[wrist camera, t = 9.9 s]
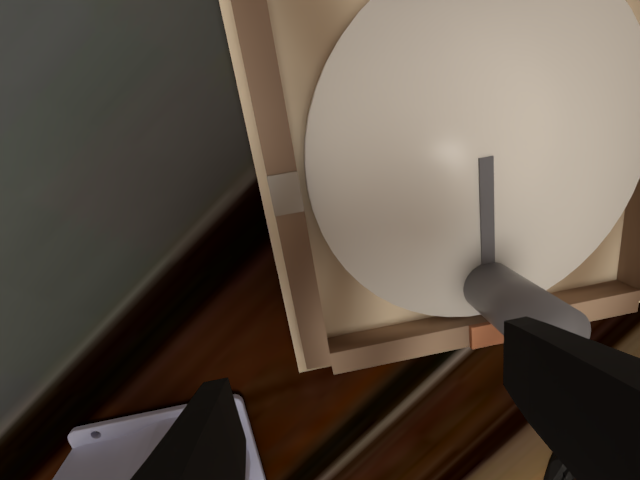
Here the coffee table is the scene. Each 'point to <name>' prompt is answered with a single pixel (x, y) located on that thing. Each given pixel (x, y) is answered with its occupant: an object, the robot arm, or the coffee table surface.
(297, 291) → the dial housing
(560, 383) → the robot arm
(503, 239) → the dial
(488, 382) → the coffee table surface
